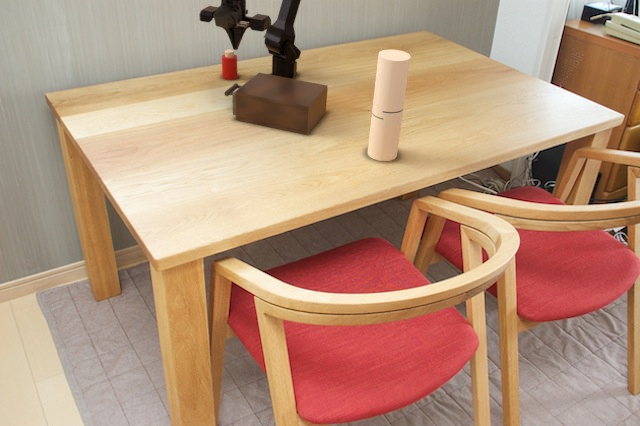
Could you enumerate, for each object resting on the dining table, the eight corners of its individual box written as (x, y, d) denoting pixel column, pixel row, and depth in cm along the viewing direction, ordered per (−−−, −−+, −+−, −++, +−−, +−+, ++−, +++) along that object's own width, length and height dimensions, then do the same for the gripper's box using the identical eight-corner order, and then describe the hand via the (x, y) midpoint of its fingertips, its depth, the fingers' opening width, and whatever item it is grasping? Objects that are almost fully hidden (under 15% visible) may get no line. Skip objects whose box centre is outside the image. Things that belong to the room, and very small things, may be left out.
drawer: (218, 111, 172) (217, 90, 169) (240, 92, 183) (239, 72, 180) (299, 128, 166) (300, 107, 163) (317, 108, 177) (318, 87, 174)
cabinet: (235, 119, 171) (235, 92, 166) (258, 98, 182) (259, 72, 178) (307, 134, 166) (308, 106, 162) (325, 112, 178) (327, 85, 173)
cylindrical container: (395, 163, 156) (409, 62, 142) (365, 158, 157) (376, 58, 143) (398, 149, 162) (411, 51, 148) (369, 145, 163) (380, 47, 149)
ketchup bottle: (219, 78, 193) (219, 52, 189) (226, 73, 197) (225, 47, 192) (233, 80, 192) (232, 54, 188) (239, 75, 196) (239, 49, 191)
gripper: (187, -7, 167) (191, 53, 176) (254, 4, 163) (254, 65, 171) (208, -17, 176) (210, 40, 185) (272, -6, 171) (271, 51, 180)
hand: (235, 49), depth 180 cm, fingers closed
